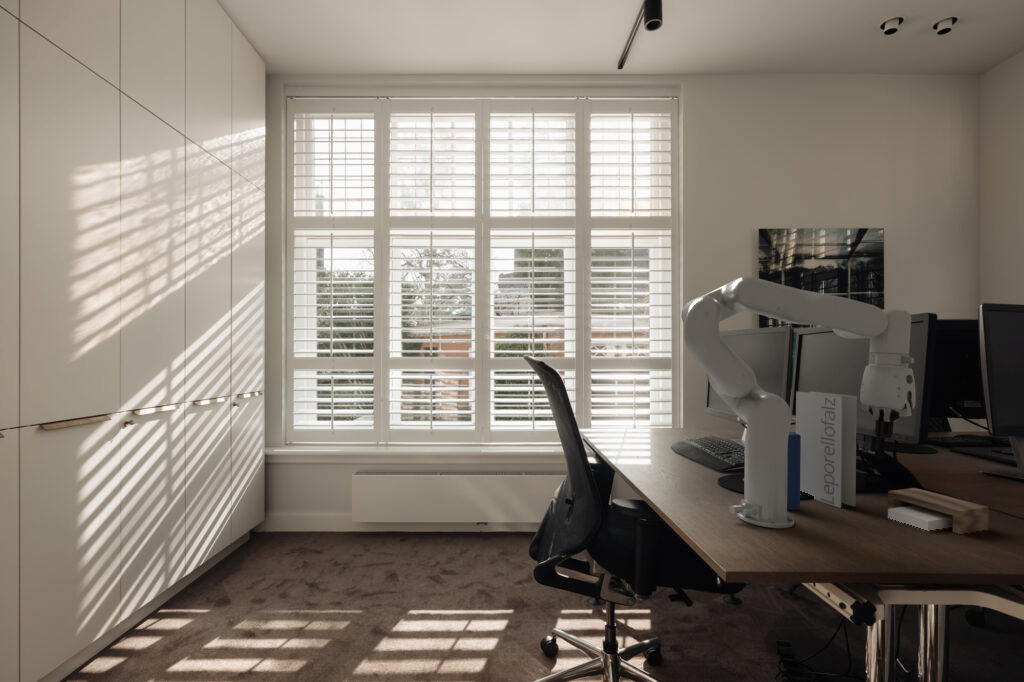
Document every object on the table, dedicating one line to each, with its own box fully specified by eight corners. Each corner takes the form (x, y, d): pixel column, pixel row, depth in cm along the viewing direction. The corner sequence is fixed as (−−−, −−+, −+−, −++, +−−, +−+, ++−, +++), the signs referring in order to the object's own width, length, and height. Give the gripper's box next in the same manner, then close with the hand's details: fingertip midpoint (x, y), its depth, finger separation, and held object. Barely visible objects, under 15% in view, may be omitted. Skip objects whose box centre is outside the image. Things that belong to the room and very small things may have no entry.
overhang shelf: (960, 534, 113) (960, 511, 113) (887, 511, 128) (887, 491, 128) (988, 529, 117) (988, 506, 117) (914, 508, 132) (914, 487, 132)
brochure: (794, 492, 144) (796, 391, 145) (808, 491, 146) (810, 391, 146) (840, 508, 131) (841, 396, 131) (855, 506, 133) (856, 396, 133)
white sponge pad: (927, 531, 115) (927, 521, 115) (887, 518, 124) (887, 508, 124) (966, 525, 120) (966, 515, 120) (924, 512, 128) (924, 503, 128)
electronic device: (802, 509, 129) (803, 434, 129) (784, 510, 128) (785, 434, 128) (777, 498, 138) (777, 428, 139) (760, 499, 138) (761, 428, 138)
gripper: (934, 363, 111) (929, 444, 111) (867, 360, 125) (862, 431, 125) (912, 362, 108) (907, 444, 108) (846, 358, 122) (842, 431, 123)
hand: (883, 437), depth 117 cm, fingers closed
